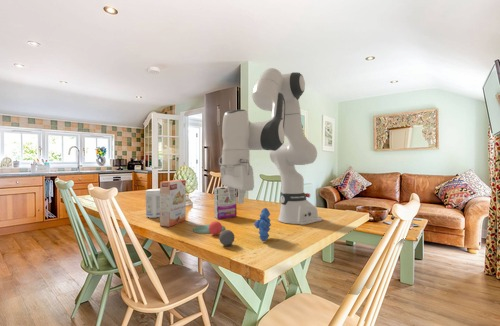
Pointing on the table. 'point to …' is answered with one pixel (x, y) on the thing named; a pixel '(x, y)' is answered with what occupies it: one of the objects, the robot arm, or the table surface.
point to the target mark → (204, 229)
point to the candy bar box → (224, 203)
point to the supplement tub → (153, 203)
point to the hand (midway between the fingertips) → (236, 201)
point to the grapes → (263, 224)
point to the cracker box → (172, 202)
